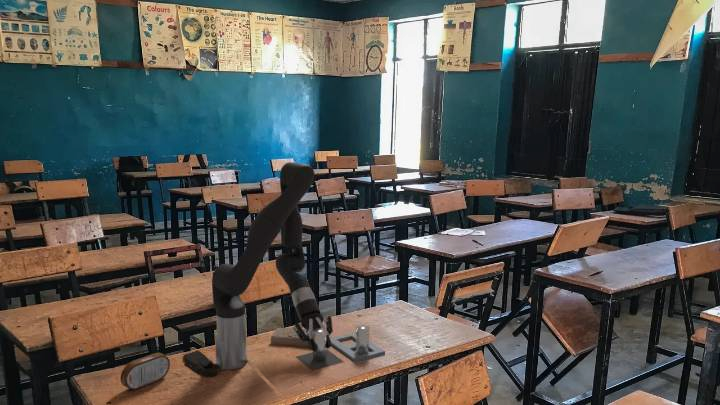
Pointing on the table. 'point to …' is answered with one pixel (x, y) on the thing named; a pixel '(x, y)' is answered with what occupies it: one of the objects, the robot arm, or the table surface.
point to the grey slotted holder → (349, 348)
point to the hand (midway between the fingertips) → (322, 348)
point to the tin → (145, 371)
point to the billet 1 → (319, 344)
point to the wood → (200, 364)
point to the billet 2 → (362, 339)
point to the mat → (312, 365)
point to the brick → (287, 337)
